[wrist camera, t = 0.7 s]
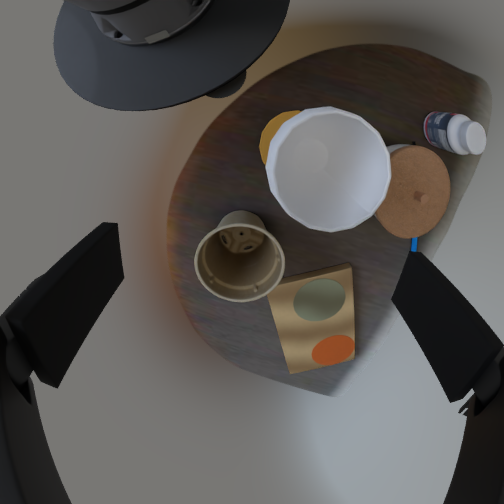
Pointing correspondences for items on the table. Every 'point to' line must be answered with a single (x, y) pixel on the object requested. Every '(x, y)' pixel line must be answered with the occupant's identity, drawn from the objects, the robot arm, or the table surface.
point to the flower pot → (240, 259)
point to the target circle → (333, 350)
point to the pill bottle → (454, 133)
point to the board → (313, 312)
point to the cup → (326, 167)
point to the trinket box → (414, 191)
